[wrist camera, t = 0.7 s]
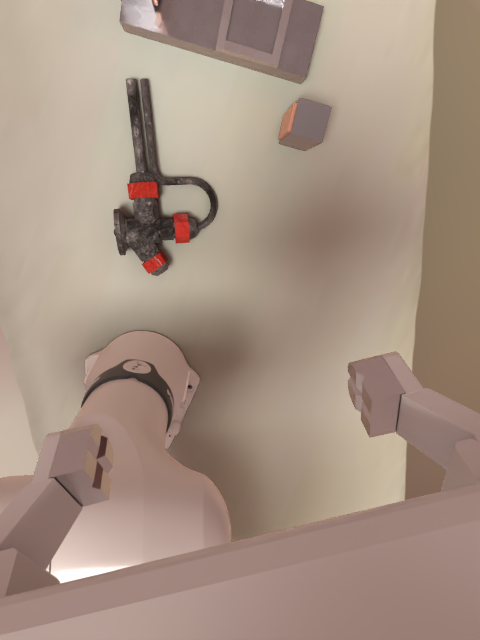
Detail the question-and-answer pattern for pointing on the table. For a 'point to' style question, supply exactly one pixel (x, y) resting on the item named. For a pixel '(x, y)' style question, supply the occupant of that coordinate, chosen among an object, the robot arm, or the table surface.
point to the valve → (152, 197)
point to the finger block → (304, 124)
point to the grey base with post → (233, 30)
